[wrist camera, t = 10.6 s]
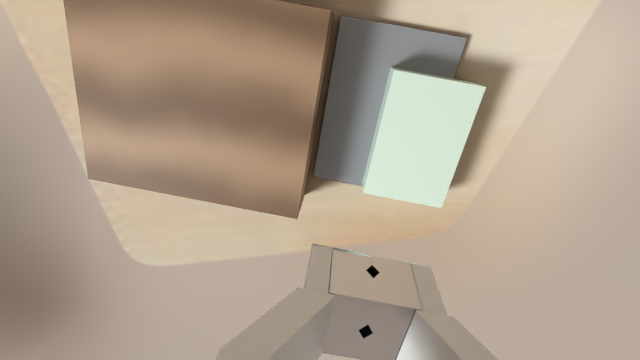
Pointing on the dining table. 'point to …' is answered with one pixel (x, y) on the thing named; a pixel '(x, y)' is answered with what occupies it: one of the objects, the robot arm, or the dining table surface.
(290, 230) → the dining table surface
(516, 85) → the dining table surface
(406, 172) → the mint green block
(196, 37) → the board
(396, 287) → the robot arm
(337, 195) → the dining table surface
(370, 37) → the mat
